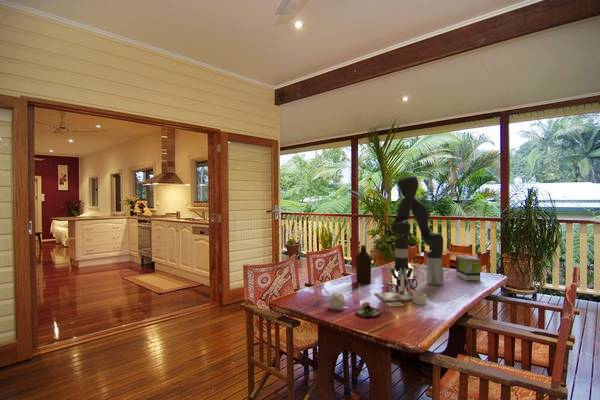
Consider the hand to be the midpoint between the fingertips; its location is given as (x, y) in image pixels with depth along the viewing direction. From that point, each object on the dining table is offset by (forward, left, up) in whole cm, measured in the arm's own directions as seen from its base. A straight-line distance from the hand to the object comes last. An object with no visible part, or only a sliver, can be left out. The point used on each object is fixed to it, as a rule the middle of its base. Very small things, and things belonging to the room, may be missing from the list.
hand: (401, 285), depth 190 cm
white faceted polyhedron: (+43, +15, -6) cm, 46 cm away
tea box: (-62, -27, -6) cm, 68 cm away
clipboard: (+5, +3, -6) cm, 8 cm away
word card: (+11, +15, -6) cm, 19 cm away
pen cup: (-3, +15, -6) cm, 16 cm away
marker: (0, 0, -5) cm, 5 cm away
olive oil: (+12, -31, -6) cm, 34 cm away
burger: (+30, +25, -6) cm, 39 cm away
